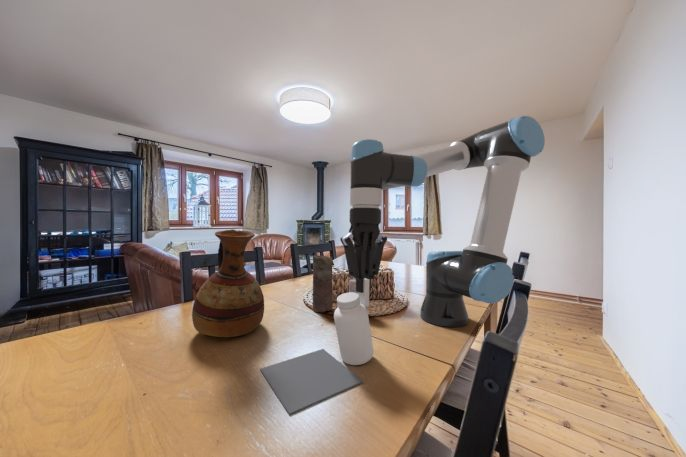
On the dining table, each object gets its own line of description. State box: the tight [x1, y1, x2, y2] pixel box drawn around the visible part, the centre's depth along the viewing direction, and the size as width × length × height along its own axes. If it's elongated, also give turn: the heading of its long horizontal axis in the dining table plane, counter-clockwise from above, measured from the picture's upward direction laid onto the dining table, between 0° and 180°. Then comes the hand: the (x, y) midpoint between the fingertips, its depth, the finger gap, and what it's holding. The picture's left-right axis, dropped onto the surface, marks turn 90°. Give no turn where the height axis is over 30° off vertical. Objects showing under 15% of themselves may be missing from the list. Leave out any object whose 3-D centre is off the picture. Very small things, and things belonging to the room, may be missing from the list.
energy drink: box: [348, 277, 358, 294], centre depth 92 cm, size 5×5×12 cm
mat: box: [259, 348, 364, 416], centre depth 55 cm, size 16×16×1 cm
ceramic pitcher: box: [191, 229, 265, 338], centre depth 78 cm, size 20×20×30 cm
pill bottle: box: [333, 291, 374, 366], centre depth 61 cm, size 8×8×15 cm
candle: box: [312, 254, 334, 313], centre depth 96 cm, size 8×7×20 cm
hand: (363, 305), depth 63 cm, fingers closed
